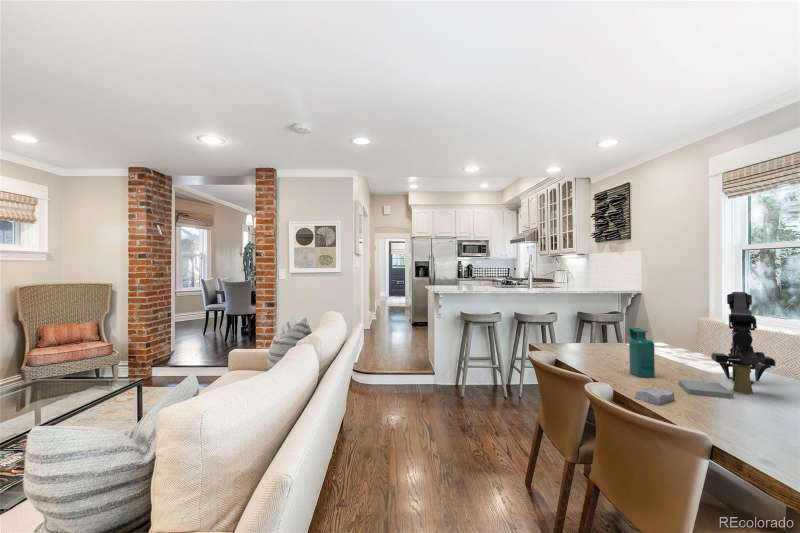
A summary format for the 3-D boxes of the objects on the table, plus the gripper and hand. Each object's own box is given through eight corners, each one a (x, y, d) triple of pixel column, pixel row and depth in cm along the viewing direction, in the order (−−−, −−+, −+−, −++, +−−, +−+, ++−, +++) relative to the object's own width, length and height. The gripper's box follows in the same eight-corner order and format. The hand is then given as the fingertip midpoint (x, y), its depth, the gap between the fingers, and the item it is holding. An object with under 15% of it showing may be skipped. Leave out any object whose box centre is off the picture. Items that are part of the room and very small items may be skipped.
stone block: (633, 403, 144) (660, 406, 135) (631, 390, 145) (658, 392, 136) (650, 399, 149) (677, 401, 141) (648, 387, 150) (674, 388, 142)
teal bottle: (657, 377, 170) (656, 330, 171) (639, 377, 171) (638, 331, 171) (643, 371, 180) (642, 327, 180) (626, 371, 180) (625, 327, 181)
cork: (757, 394, 146) (756, 367, 146) (739, 394, 147) (739, 366, 147) (746, 389, 152) (745, 363, 152) (729, 389, 153) (728, 363, 153)
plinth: (678, 383, 160) (678, 379, 160) (718, 387, 155) (718, 383, 155) (689, 394, 148) (688, 389, 148) (733, 398, 142) (732, 393, 142)
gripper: (721, 344, 146) (722, 383, 146) (783, 348, 138) (784, 388, 138) (710, 339, 156) (711, 375, 156) (767, 342, 149) (768, 380, 149)
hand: (742, 380), depth 149 cm, fingers open, 9 cm apart
